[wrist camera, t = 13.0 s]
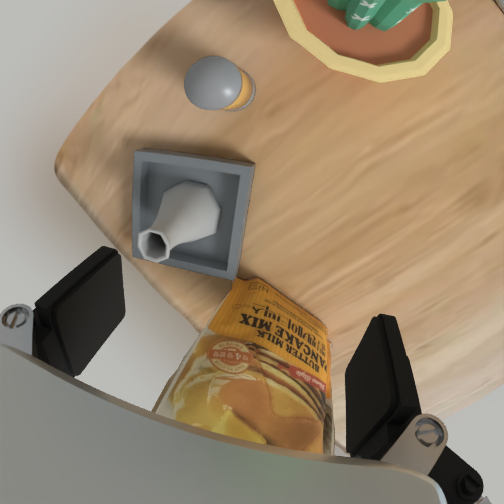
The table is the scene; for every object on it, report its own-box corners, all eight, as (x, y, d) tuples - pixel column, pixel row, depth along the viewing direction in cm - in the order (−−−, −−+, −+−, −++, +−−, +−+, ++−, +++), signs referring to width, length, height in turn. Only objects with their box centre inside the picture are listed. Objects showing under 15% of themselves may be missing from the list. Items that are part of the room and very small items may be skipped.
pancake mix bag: (316, 364, 42) (305, 554, 17) (206, 291, 39) (104, 492, 14) (350, 338, 39) (363, 545, 14) (235, 255, 36) (130, 485, 11)
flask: (217, 176, 32) (184, 202, 23) (225, 239, 35) (198, 283, 26) (157, 182, 34) (109, 209, 25) (168, 240, 36) (128, 282, 28)
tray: (144, 148, 32) (134, 150, 30) (255, 163, 31) (251, 167, 29) (141, 248, 38) (132, 256, 36) (238, 270, 37) (234, 280, 35)
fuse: (215, 67, 28) (188, 54, 20) (258, 72, 27) (244, 58, 20) (209, 108, 30) (180, 107, 22) (252, 113, 29) (235, 113, 22)
